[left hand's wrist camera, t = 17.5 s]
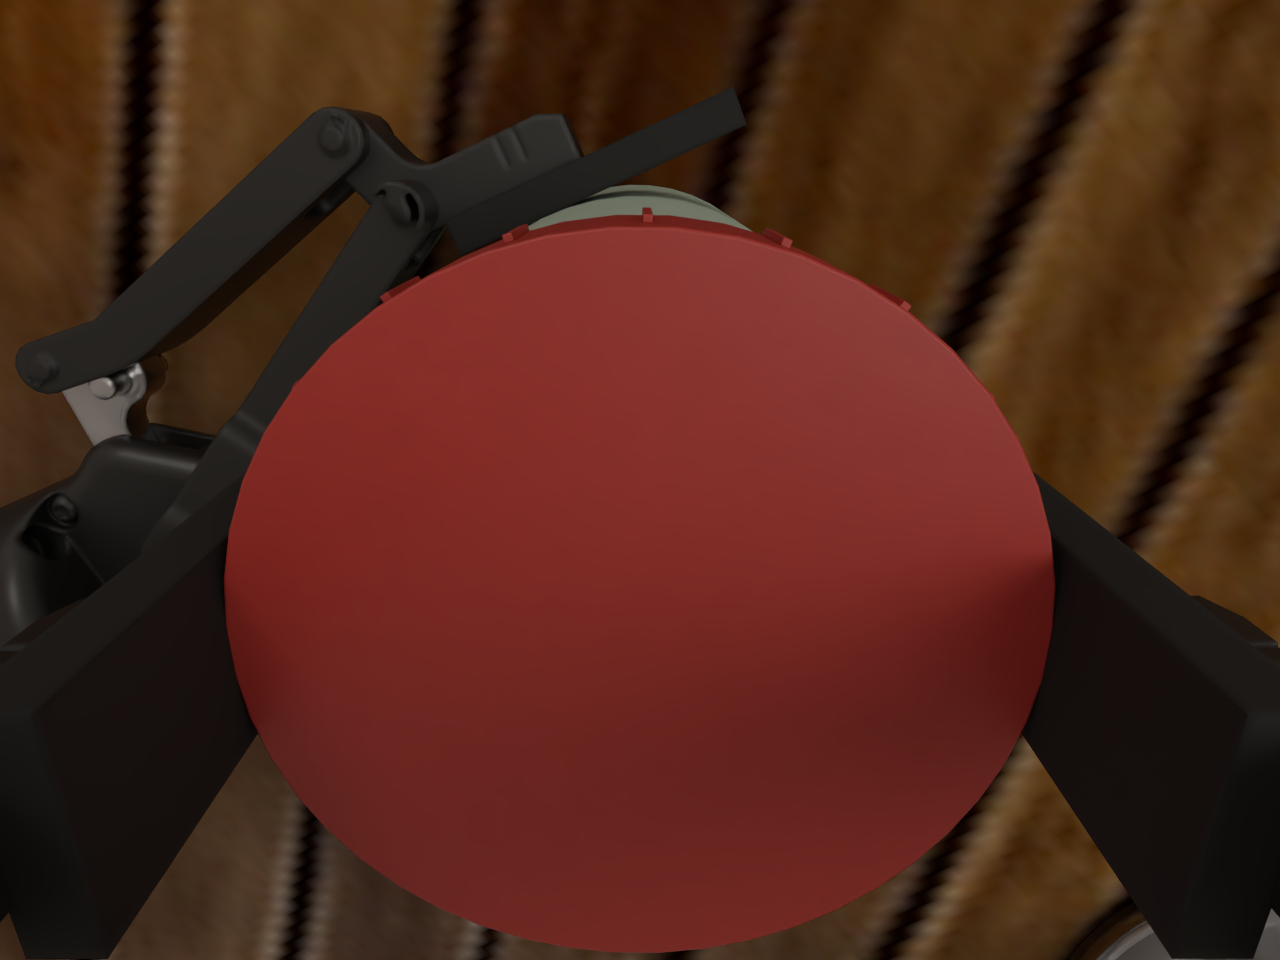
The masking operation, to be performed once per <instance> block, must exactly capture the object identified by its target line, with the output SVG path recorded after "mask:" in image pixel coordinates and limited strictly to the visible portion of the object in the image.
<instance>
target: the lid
mask: <svg viewBox="0 0 1280 960" xmlns="http://www.w3.org/2000/svg"><path fill="white" fill-rule="evenodd" d="M502 238H503V240H500V241H498V242H496V243H493V244H491V245H489V246H486V247H484V248H482V249H479V250H477V251H475V252H473V253H470V254H468V255H466V256H463V257H461V258H460V259H458V260H456V261H454V262H452V263H450V264H448V265H447V266H445V267H443V268H441V269H439V270H437V271H436V272H434V273H432V274H430V275H428V276H426V277H425V278H423V279H422V280H421V279H420V277H419V276H417V277H415V278H413V279H411V280H409V281H407V282H405V283H403V284H401V285H399V286H397V287H395V288H393V289H392V290H390V291H388V292H386V293H385V294H383V295H382V296H380V298H381V300H382V301H383V302H384V303H382V304H381V305H379V306H377V307H376V308H375V309H373V310H372V311H371V312H370V313H369V314H367V315H366V316H365V317H364V318H363V319H361V320H360V321H359V322H358V323H357V324H355V325H354V326H353V327H352V328H351V329H349V330H348V331H347V332H346V333H345V334H343V335H342V336H341V337H340V338H339V339H337V340H336V341H335V342H334V343H333V344H331V345H330V347H329V348H328V349H327V350H326V351H325V352H324V353H323V354H322V356H321V357H320V358H319V359H318V360H317V361H316V362H315V363H314V365H313V366H312V367H311V368H310V369H309V370H308V371H307V372H306V373H305V375H304V376H303V377H302V378H301V379H299V380H298V381H296V382H295V383H294V385H293V386H292V390H291V392H290V393H289V395H288V396H287V398H286V399H285V401H284V402H283V404H282V406H281V407H280V409H279V410H278V412H277V413H276V415H275V416H274V418H273V419H272V421H271V422H270V424H269V426H268V427H267V429H266V430H265V432H264V434H263V436H262V438H261V440H260V443H259V445H258V447H257V449H256V451H255V454H254V456H253V458H252V460H251V463H250V465H249V467H248V469H247V472H246V474H245V476H244V478H243V481H242V484H241V488H240V492H239V495H238V499H237V503H236V507H235V510H234V514H233V518H232V521H231V525H230V529H229V537H228V546H227V555H226V564H225V573H224V595H225V618H226V628H227V633H228V638H229V643H230V648H231V653H232V658H233V663H234V668H235V673H236V677H237V681H238V684H239V687H240V690H241V693H242V695H243V698H244V701H245V704H246V707H247V710H248V713H249V716H250V718H251V720H252V722H253V724H254V726H255V728H256V730H257V732H258V734H259V736H260V738H261V740H262V742H263V743H264V745H265V747H266V749H267V751H268V753H269V755H270V757H271V759H272V760H273V762H274V763H275V765H276V766H277V768H278V769H279V770H280V772H281V773H282V775H283V776H284V778H285V779H286V781H287V782H288V784H289V785H290V786H291V788H292V789H293V791H294V792H295V794H296V795H297V796H298V798H299V799H300V800H301V801H302V802H303V803H304V804H305V805H306V806H307V808H308V809H309V810H310V811H311V812H312V813H313V814H314V815H315V817H316V818H317V819H318V820H319V821H320V822H321V823H322V824H323V825H324V827H325V828H326V829H327V830H328V831H329V832H330V833H332V834H333V835H334V836H335V837H336V838H337V839H338V840H339V841H341V842H342V843H343V844H344V845H345V846H346V847H347V848H349V849H350V850H351V851H352V852H353V853H354V854H355V855H356V856H358V857H359V858H360V859H361V860H362V861H364V862H365V863H367V864H368V865H369V866H371V867H372V868H374V869H375V870H377V871H378V872H379V873H381V874H382V875H384V876H385V877H387V878H388V879H389V880H391V881H392V882H394V883H395V884H397V885H398V886H400V887H402V888H403V889H405V890H407V891H409V892H411V893H412V894H414V895H416V896H418V897H420V898H422V899H423V900H425V901H427V902H429V903H431V904H433V905H434V906H436V907H438V908H440V909H443V910H445V911H447V912H450V913H452V914H454V915H457V916H459V917H462V918H464V919H466V920H469V921H471V922H473V923H476V924H478V925H481V926H484V927H487V928H490V929H494V930H497V931H500V932H504V933H507V934H510V935H513V936H517V937H520V938H523V939H528V940H533V941H538V942H543V943H548V944H553V945H558V946H563V947H568V948H576V949H586V950H596V951H606V952H639V953H661V952H672V951H683V950H694V949H705V948H710V947H716V946H721V945H726V944H731V943H737V942H742V941H747V940H752V939H755V938H758V937H762V936H765V935H769V934H772V933H775V932H779V931H782V930H786V929H789V928H793V927H795V926H798V925H800V924H803V923H805V922H808V921H810V920H813V919H815V918H817V917H820V916H822V915H825V914H827V913H830V912H832V911H835V910H837V909H839V908H841V907H842V906H844V905H846V904H848V903H850V902H852V901H854V900H856V899H857V898H859V897H861V896H863V895H865V894H867V893H869V892H871V891H872V890H874V889H876V888H878V887H879V886H881V885H882V884H883V883H885V882H886V881H888V880H889V879H891V878H892V877H894V876H895V875H897V874H898V873H900V872H901V871H903V870H904V869H906V868H907V867H908V866H910V865H911V864H913V863H914V862H915V861H916V860H918V859H919V858H920V857H921V856H922V855H923V854H925V853H926V852H927V851H928V850H929V849H930V848H932V847H933V846H934V845H935V844H936V843H937V842H939V841H940V840H941V839H942V838H943V837H944V836H946V835H947V834H948V833H949V832H950V831H951V830H952V829H953V827H954V826H955V825H956V824H957V823H958V822H959V821H960V820H961V819H962V818H963V817H964V815H965V814H966V813H967V812H968V811H969V810H970V809H971V808H972V807H973V806H974V805H975V803H976V802H977V801H978V800H979V799H980V797H981V796H982V795H983V793H984V792H985V790H986V789H987V788H988V786H989V785H990V783H991V782H992V781H993V779H994V778H995V776H996V775H997V774H998V772H999V771H1000V769H1001V768H1002V767H1003V765H1004V764H1005V762H1006V760H1007V759H1008V757H1009V755H1010V753H1011V751H1012V749H1013V747H1014V745H1015V743H1016V742H1017V740H1018V738H1019V736H1020V734H1021V732H1022V730H1023V728H1024V727H1025V725H1026V723H1027V720H1028V718H1029V715H1030V712H1031V709H1032V707H1033V704H1034V701H1035V699H1036V696H1037V693H1038V690H1039V688H1040V685H1041V682H1042V678H1043V673H1044V668H1045V663H1046V658H1047V653H1048V649H1049V644H1050V639H1051V634H1052V628H1053V617H1054V600H1055V575H1054V564H1053V553H1052V542H1051V534H1050V530H1049V526H1048V522H1047V518H1046V514H1045V510H1044V506H1043V502H1042V498H1041V494H1040V490H1039V486H1038V484H1037V481H1036V479H1035V477H1034V474H1033V472H1032V470H1031V467H1030V465H1029V462H1028V460H1027V458H1026V455H1025V453H1024V451H1023V448H1022V446H1021V444H1020V441H1019V439H1018V437H1017V435H1016V434H1015V432H1014V431H1013V429H1012V427H1011V426H1010V424H1009V423H1008V421H1007V419H1006V418H1005V416H1004V415H1003V413H1002V411H1001V410H1000V408H999V407H998V405H997V403H996V402H995V398H994V397H993V395H992V394H991V393H990V392H989V391H988V390H987V389H986V387H985V386H984V385H983V384H982V383H981V382H980V380H979V379H978V378H977V377H976V376H975V375H974V373H973V372H972V371H971V370H970V369H969V368H968V366H967V365H966V364H965V363H964V362H963V361H962V359H961V358H960V357H959V356H958V355H957V354H956V353H955V351H954V350H953V349H952V348H951V347H949V346H948V345H947V344H946V343H945V342H944V341H942V340H941V339H940V338H939V337H938V336H937V335H936V334H934V333H933V332H932V331H931V330H930V329H929V328H927V327H926V326H925V325H924V324H923V323H922V322H920V321H919V320H918V319H917V318H916V317H915V316H913V315H912V314H911V313H910V312H909V311H908V310H909V309H910V308H911V305H909V304H908V303H907V302H906V301H904V300H902V299H900V298H898V297H896V296H894V295H893V294H891V293H889V292H887V291H885V290H883V289H881V288H879V287H877V286H875V285H874V284H871V285H870V286H868V285H866V284H865V283H863V282H862V281H860V280H858V279H857V278H855V277H853V276H851V275H849V274H848V273H846V272H844V271H842V270H840V269H838V268H836V267H835V266H833V265H831V264H829V263H827V262H825V261H823V260H822V259H819V258H817V257H815V256H813V255H811V254H808V253H806V252H804V251H802V250H799V249H797V248H795V247H793V246H791V244H792V242H793V241H792V240H791V239H789V238H787V237H785V236H783V235H781V234H779V233H777V232H775V231H773V230H771V229H768V228H765V230H764V233H763V235H762V234H759V233H755V232H752V231H748V230H745V229H742V228H738V227H735V226H731V225H728V224H724V223H719V222H712V221H705V220H699V219H692V218H685V217H678V216H671V215H653V213H652V209H651V208H650V207H643V208H642V215H611V216H603V217H595V218H588V219H580V220H572V221H564V222H560V223H556V224H553V225H549V226H545V227H542V228H538V229H534V230H531V231H529V227H528V224H524V225H520V226H518V227H516V228H515V229H513V230H511V231H509V232H507V233H505V234H503V235H502Z"/></svg>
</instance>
